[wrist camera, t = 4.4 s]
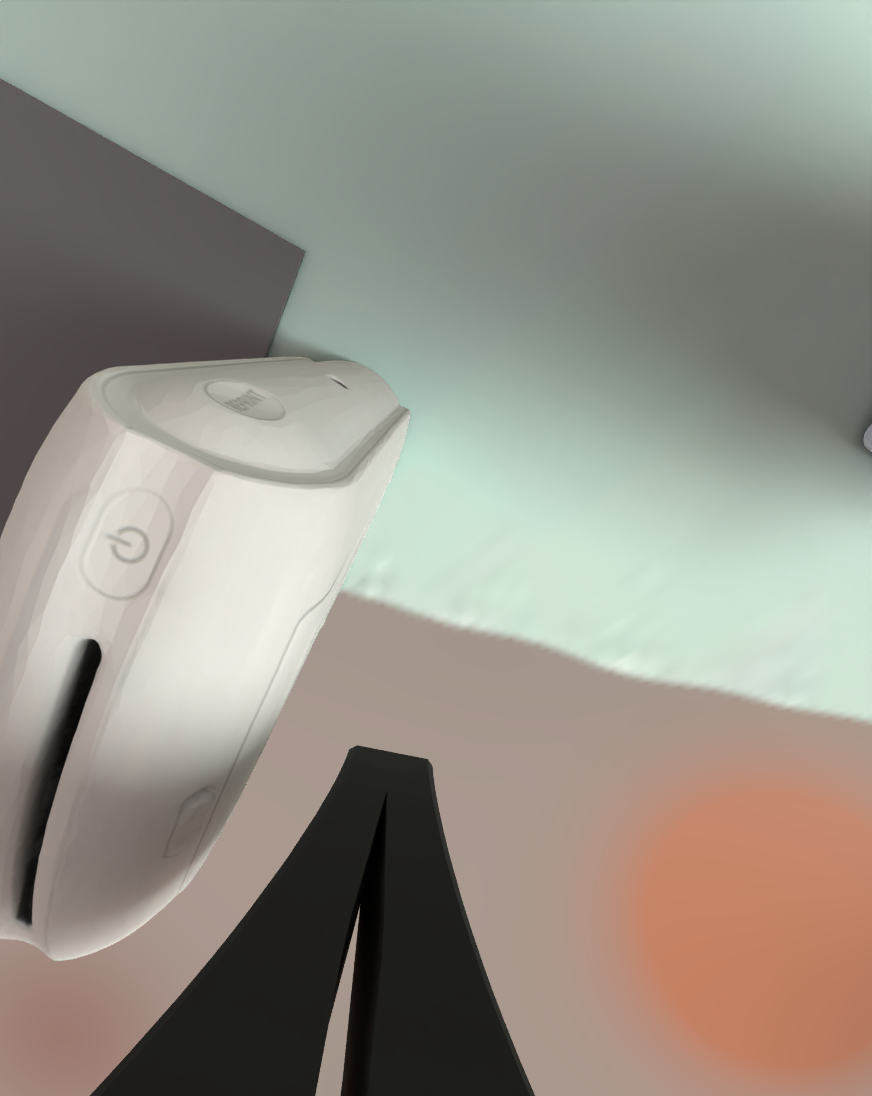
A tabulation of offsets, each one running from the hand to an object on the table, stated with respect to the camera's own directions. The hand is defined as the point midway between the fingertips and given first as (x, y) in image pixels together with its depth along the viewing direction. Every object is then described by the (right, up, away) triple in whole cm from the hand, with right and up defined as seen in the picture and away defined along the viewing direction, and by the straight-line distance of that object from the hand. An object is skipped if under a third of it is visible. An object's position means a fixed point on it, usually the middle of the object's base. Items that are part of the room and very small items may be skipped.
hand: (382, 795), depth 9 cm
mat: (-10, +9, +8) cm, 15 cm away
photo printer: (-3, +6, +9) cm, 11 cm away
